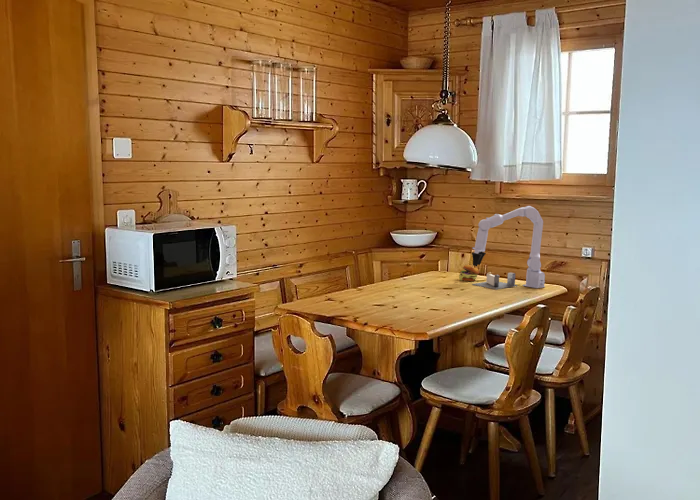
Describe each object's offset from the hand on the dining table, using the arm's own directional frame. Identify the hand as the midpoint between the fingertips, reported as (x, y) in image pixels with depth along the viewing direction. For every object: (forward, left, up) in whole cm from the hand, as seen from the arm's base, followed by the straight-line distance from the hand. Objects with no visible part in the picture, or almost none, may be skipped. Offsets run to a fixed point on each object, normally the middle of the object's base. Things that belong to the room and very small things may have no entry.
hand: (476, 265), depth 386 cm
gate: (-9, -2, -9) cm, 13 cm away
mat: (-10, -4, -10) cm, 15 cm away
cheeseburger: (+9, -5, -11) cm, 15 cm away
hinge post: (-15, +1, -10) cm, 18 cm away
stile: (-16, -10, -10) cm, 21 cm away
